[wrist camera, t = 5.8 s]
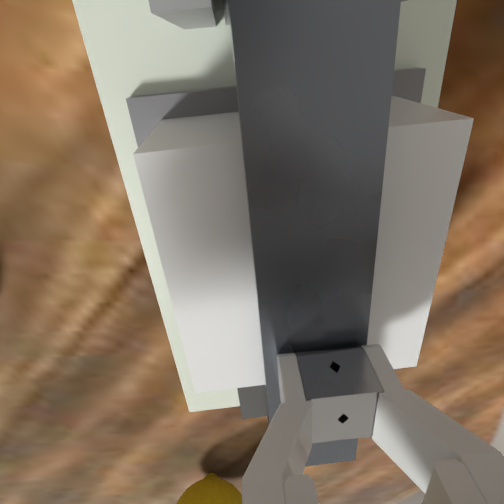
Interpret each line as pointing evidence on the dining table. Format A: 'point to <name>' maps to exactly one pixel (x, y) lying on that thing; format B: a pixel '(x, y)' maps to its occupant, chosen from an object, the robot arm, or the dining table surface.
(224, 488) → the lemon
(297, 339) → the strap
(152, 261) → the board
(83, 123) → the dining table surface
